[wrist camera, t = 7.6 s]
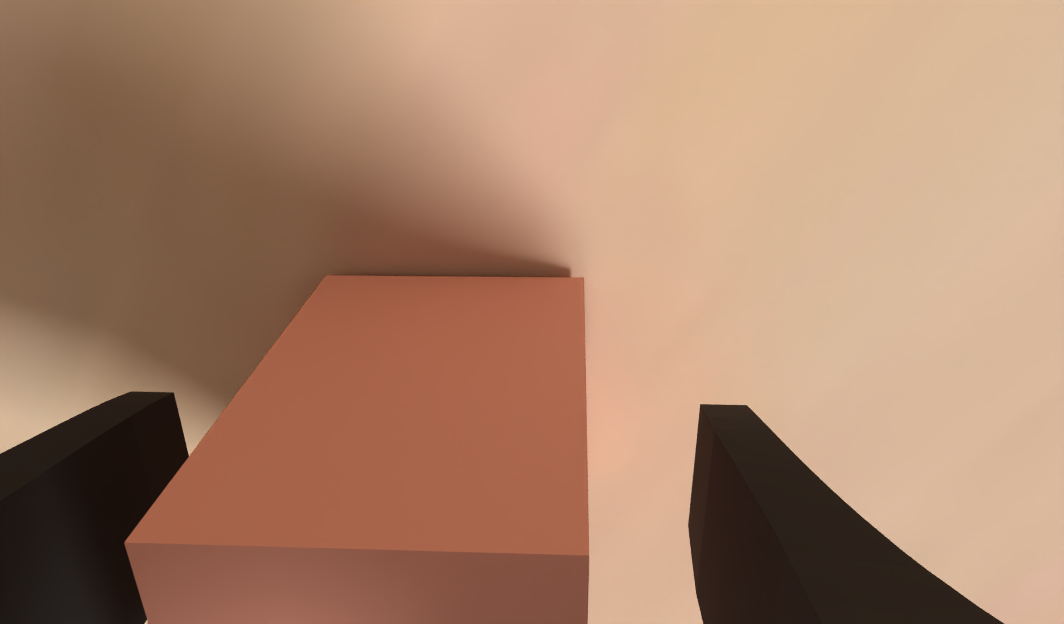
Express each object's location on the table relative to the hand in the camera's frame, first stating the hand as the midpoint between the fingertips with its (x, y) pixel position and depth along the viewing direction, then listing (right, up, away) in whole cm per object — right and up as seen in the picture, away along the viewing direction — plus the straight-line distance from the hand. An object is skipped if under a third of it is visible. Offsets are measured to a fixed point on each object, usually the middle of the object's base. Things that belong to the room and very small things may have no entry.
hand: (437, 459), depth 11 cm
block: (0, +1, +2) cm, 2 cm away
